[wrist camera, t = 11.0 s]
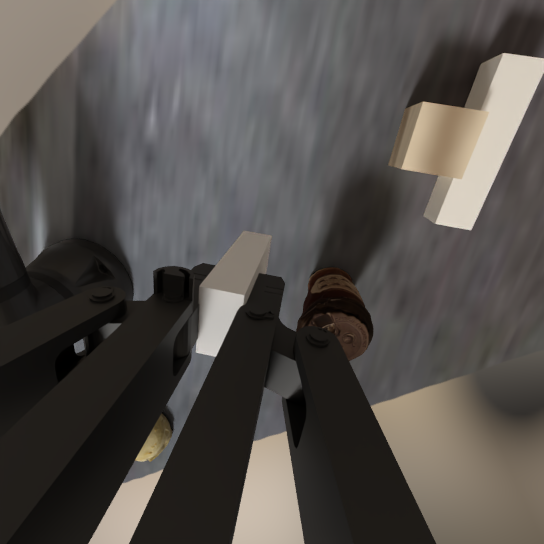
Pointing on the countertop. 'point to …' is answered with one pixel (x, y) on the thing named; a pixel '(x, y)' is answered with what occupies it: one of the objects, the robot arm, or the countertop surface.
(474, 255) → the countertop surface
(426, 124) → the block
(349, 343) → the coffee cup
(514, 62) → the white rectangular bar
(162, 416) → the pastry
